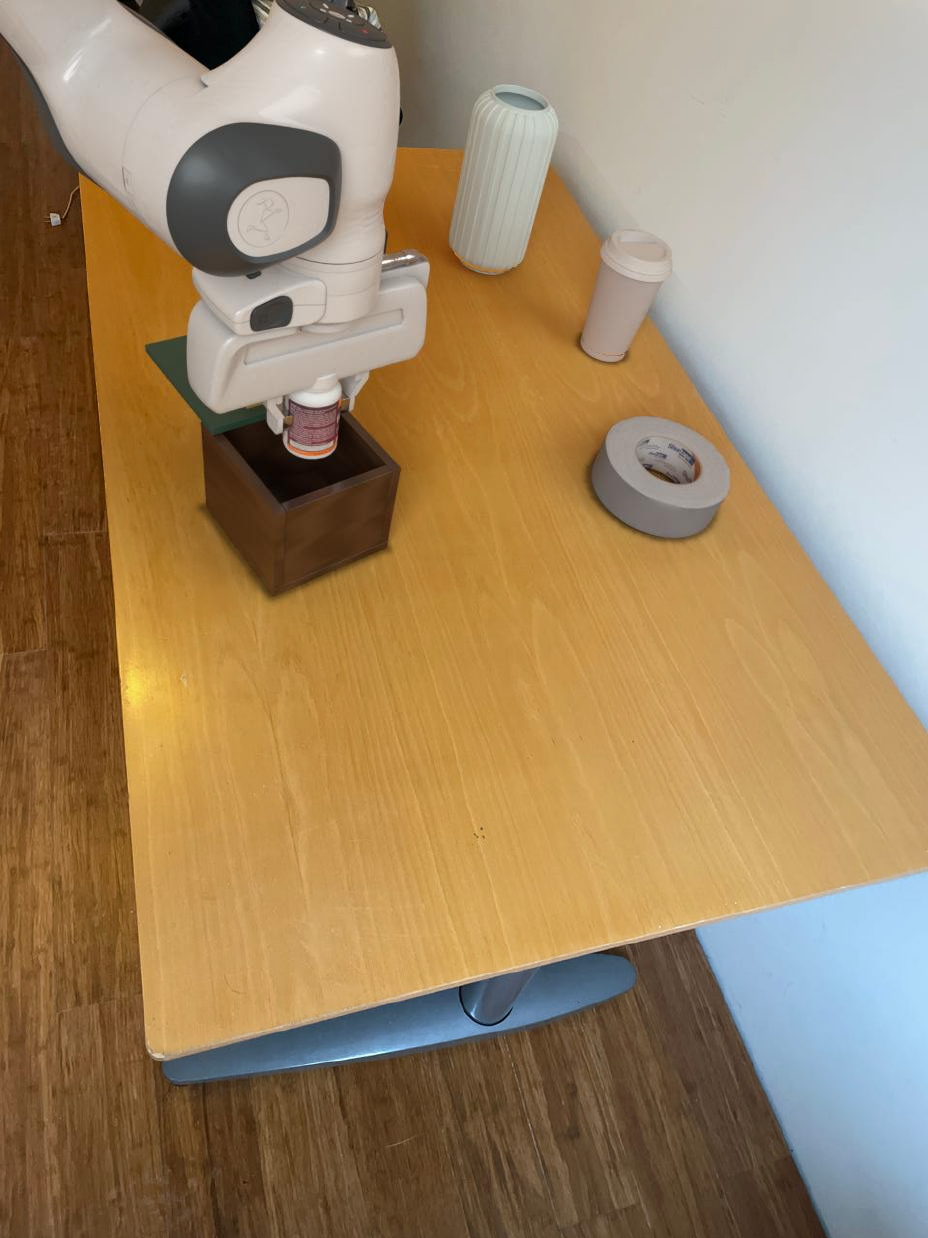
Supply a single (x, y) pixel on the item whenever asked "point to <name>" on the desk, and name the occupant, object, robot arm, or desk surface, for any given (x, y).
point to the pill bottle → (314, 419)
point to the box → (299, 500)
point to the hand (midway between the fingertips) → (310, 418)
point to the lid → (174, 367)
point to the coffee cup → (624, 291)
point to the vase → (502, 176)
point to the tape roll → (648, 496)
